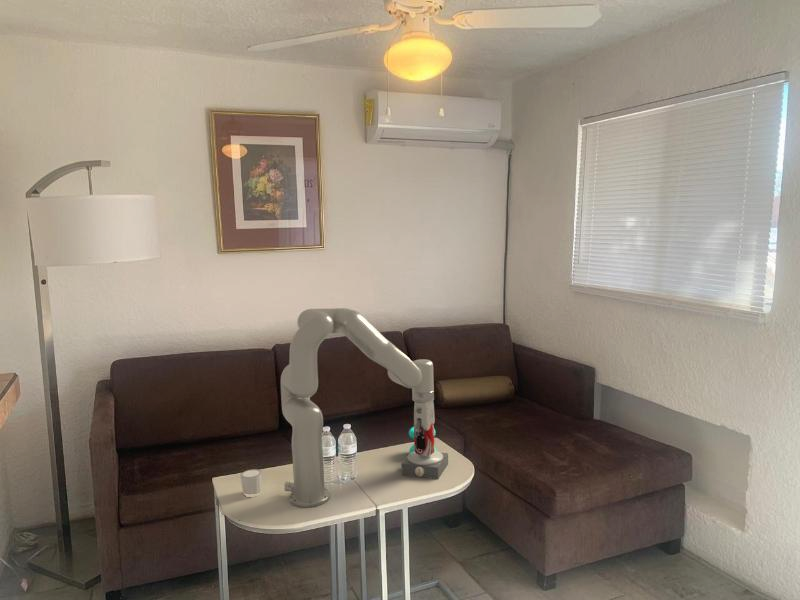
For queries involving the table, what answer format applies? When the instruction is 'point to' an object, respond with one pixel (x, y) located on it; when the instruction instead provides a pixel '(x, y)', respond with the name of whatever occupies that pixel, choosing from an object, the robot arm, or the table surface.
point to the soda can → (429, 442)
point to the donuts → (411, 433)
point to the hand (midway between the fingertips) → (424, 444)
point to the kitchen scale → (425, 465)
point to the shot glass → (251, 481)
